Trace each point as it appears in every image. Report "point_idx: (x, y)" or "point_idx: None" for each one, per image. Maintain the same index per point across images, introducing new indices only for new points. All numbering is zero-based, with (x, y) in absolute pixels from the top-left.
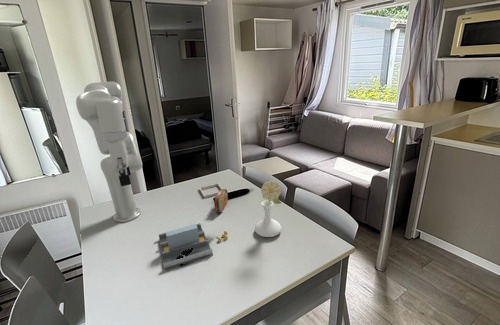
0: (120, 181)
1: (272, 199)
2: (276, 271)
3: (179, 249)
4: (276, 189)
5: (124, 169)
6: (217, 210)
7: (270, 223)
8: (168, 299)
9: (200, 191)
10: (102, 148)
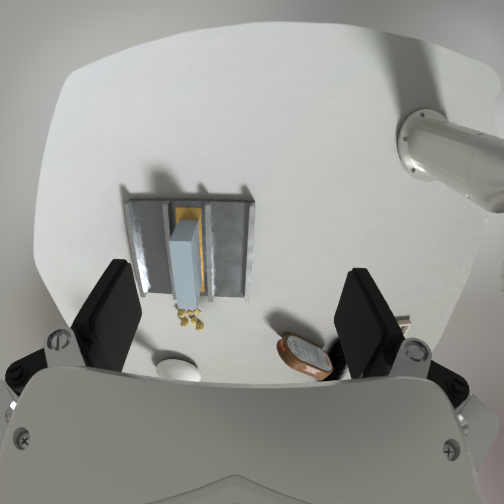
0: (99, 287)
1: None
2: None
3: (166, 242)
4: None
5: (358, 338)
6: (281, 339)
7: None
8: (65, 199)
9: (400, 320)
10: None
